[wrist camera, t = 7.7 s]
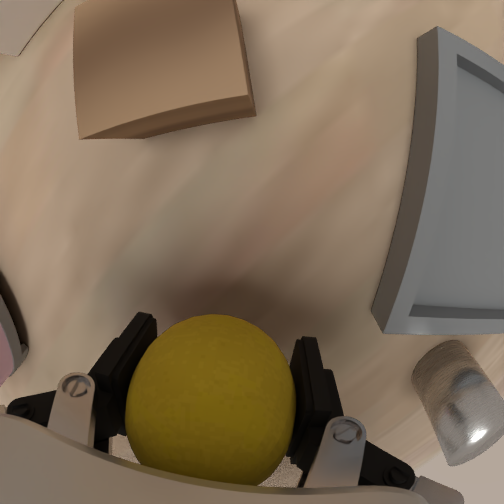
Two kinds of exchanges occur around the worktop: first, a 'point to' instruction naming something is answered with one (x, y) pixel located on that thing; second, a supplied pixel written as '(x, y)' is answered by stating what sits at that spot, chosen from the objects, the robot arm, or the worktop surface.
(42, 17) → the milk
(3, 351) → the blender
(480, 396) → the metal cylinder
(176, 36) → the walnut block
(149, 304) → the worktop surface
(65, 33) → the worktop surface
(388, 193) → the worktop surface
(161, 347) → the lemon
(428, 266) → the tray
